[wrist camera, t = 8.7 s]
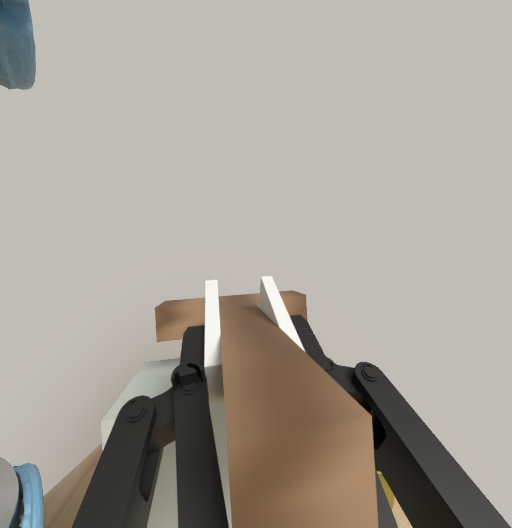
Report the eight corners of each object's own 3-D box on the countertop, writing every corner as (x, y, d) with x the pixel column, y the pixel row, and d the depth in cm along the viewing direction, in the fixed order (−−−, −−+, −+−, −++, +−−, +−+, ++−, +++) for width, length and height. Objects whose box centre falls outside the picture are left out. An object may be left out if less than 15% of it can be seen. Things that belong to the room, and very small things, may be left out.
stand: (126, 847, 16) (100, 421, 16) (160, 626, 26) (144, 362, 26) (379, 731, 19) (358, 379, 19) (324, 575, 29) (310, 341, 29)
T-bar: (-144, 725, 3) (-157, 518, 3) (166, 329, 24) (165, 301, 24) (576, 497, 6) (568, 377, 6) (293, 316, 26) (292, 290, 26)
